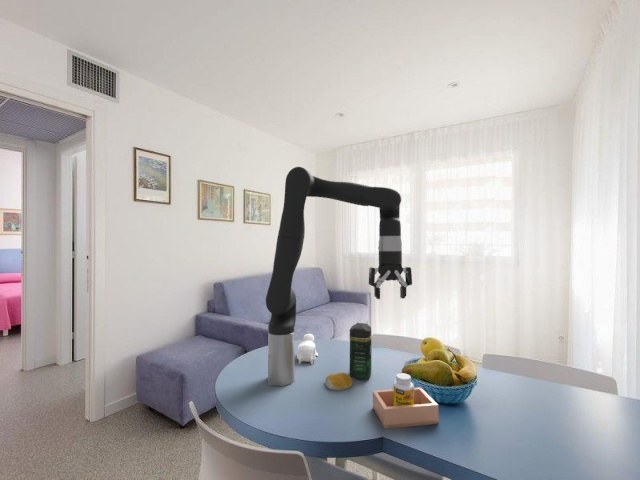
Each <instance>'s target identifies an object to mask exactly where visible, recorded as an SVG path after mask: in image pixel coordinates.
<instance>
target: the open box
mask: <svg viewBox="0 0 640 480" xmlns="http://www.w3.org/2000/svg"><path fill="white" fill-rule="evenodd" d="M372 409H373V410H374V413H375V414H376V416H377V418H378V419H379V421H380V423H381V425H382V426H383V428H384V429H396V428H405V427H406V428H407V427H417V426H428V425H438V424H439V404H438V403H437V401H435V400H434V399H433V398H432V397H431V396H430V395H429V394H428V393H427V392H426V390H424V389H423V388H422V387H414V405H405V406H394V388H393V389H381V390H379V389H377V390H372Z"/></svg>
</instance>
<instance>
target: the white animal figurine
mask: <svg viewBox="0 0 640 480" xmlns="http://www.w3.org/2000/svg"><path fill="white" fill-rule="evenodd" d="M296 352H297V353H296V356H297V360H298V364H299V365H302V362H305V363H306V362H310V365H313V364H314V360H316V359H317V357H318V356H319V353H318V351H317V350H316V343H315V336H314V334H311V333H307V334H304V335H303V337H302V342H300V343H299V344H298V346H297V350H296Z"/></svg>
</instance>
